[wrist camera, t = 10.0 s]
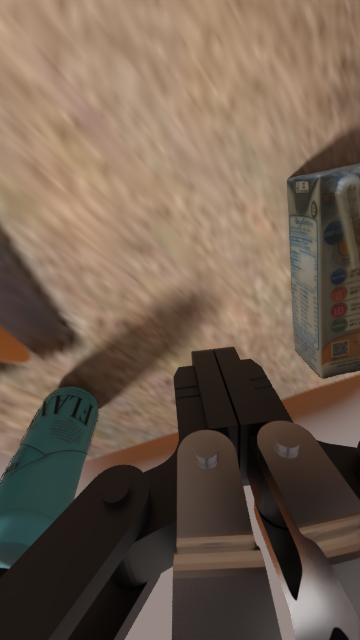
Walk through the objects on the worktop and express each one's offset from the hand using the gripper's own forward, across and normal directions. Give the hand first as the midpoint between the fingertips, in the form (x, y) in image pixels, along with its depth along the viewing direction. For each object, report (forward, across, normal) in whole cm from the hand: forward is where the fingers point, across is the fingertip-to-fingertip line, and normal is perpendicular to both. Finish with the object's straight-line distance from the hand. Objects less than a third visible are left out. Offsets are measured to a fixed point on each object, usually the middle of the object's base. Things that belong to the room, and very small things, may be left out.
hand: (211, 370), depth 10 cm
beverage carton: (+20, -15, +3) cm, 25 cm away
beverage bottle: (+20, +14, +16) cm, 29 cm away
